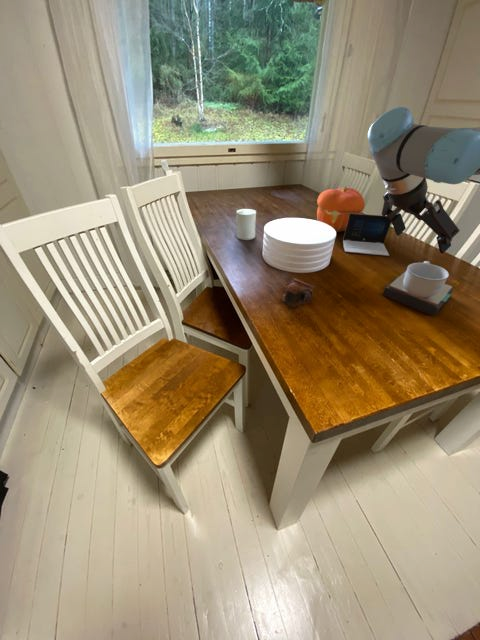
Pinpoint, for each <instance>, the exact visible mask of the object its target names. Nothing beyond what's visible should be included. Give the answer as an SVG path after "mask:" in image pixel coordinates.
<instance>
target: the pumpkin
mask: <svg viewBox="0 0 480 640" xmlns="http://www.w3.org/2000/svg"><path fill="white" fill-rule="evenodd" d="M316 203H317V206H318V207H317V210H316V221H319V222H323V223H325V224H327V225H329V226H331V227H332V228H334V230H335V231H336V233H340V232H345V230H346V226H347V222H348V218H349V214H350V213H354V214H363V211H364V210H365V206H366V205H365V198H364V197H363V195H362V194H361V193H360V192H359V191H358V190H357V189H355V188H351V187H346V186H344V187H340V188H337V189H335V188H328V189H326V190H324V191H322V192H321V193H320V194H319V195H318V197H317V201H316Z"/></svg>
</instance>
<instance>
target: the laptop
mask: <svg viewBox="0 0 480 640" xmlns="http://www.w3.org/2000/svg"><path fill="white" fill-rule="evenodd" d="M387 217H388V216H383V215H382V214H367V213H362V214H354V213H350V214H349V218H348V222H347V226H346V230H345V231H344V234H343V238H342V245H343V249H344V253H350V254H361V255H370V256H371V255H373V256H382V257H383V256H384V257H390V254H389V252H388V249H387V248H386V246H385V241H386V238H387V236H388V233H389V230H390V228H391V225H392V223H391V221H390V219H388V218H387Z"/></svg>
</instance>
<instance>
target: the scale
mask: <svg viewBox="0 0 480 640" xmlns="http://www.w3.org/2000/svg"><path fill="white" fill-rule="evenodd" d="M405 274H406V271H403V272H402V273H400V275H399V276H397V277H396V278H395V279H394V280H393V281H391V282H390V283H389V284H388V285H386V286H385V287H384V289H383V292H382V296H384V297H385V298H388V299H391V300H393V301H396V302H398V303H400V304H402V305H405V306H407V307H410V308H413V309H415V310H417V311H420V312H422V313H425V314H427V315H429V316H432V317H435V315H436V314H437V313H438V312H439V311H440V309H441V308H442V307H443V306H444V305H445V303H446V302H447V301H448V300H449V298H450V297H451V296H452V293H453V292H454V290H455V289H454V288H453V286H452V285H450V284H446V283H445V284H444V286H443V287H442V289H441V291H440V292H439V293H438V294H436V295H434V296H431V297H427V298H420V297H416V296H413V295H411V294H409V293H408V292H407V290H406V289H405V288H404V286H403V280H404V277H405Z"/></svg>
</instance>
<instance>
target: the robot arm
mask: <svg viewBox="0 0 480 640" xmlns="http://www.w3.org/2000/svg"><path fill="white" fill-rule="evenodd" d="M414 119H415V118H414V116H413V115H412V112H411V110H410V109H409V108H408V107H405V106H398V107H394V108H391V109H389V110H387V111H385V112H384V113H382V114H381V115H380V116H379V117H378V118H377V119H376V120H374V122H373V123H372V124H371V125H370V126H369V130H368V132H367V140H368V144H369V148H370V153H371V155H372V158H373V160H374V162H375V165H376V168H377V169H378V172H379V175H380V177H381V179H382V183H383V185H384V188H385V190H386V192H385V193H384V195H383V196H382V198H383V205H382V211H381V216H388V217H387V218H388V219H390V221H391V225H392V227H393V229H394V232H395V235H396V236H401V234H403V232H404V231H406V230H407V228H406V225H405V222H404V219H403V216H402V213H400V212H401V211H403V212H404V213H405V214H410V215H412V216H414V218H416V220H417V221H422V222H423V223H425V225H426V226H427V227H428V228H430V229H431V231H433V232H434V233H435V235H437V236H436V242H437V245H438V246H437V247H438V250H439V253H440V254H444V253H445V252H447V250H448V249H449V248H451V246H452V241H453V239H454V237H455V236H456V235H457V234H458V233H460V229H459V227H458V226H457V225H456V224H455V222H454V221H453V219H452V217H451V216H450V215H449V213H447V211H446V209H444V207H443V204H442V201H441V200H439V199H436V200H435V201H434V202H432V201H431V202H430V200H429V199H428V198H427V192H428V189H429V186H428V182H427V180H430V181H431V182H432V181H433V183H437V184H446V185H447V184H448V185H459V184H462V183H464V182H465V181H466V180H467V179H470V178H471V177H472V176H478V175H479V176H480V127H443V126H442V127H441V126H429V125H425V124H416V123H414V121H415V120H414ZM393 207H395V209H393ZM392 209H393V210H392ZM425 209H426V210H425ZM423 211H424V212H423ZM422 212H423V213H422ZM421 213H422V214H421Z"/></svg>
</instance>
